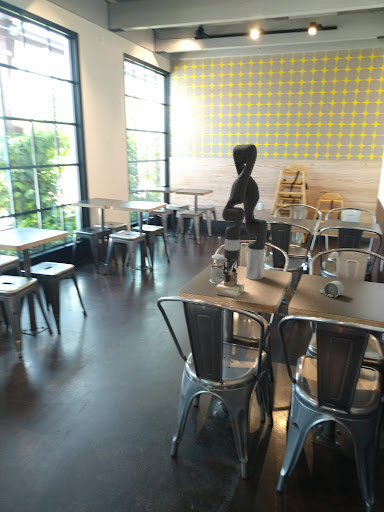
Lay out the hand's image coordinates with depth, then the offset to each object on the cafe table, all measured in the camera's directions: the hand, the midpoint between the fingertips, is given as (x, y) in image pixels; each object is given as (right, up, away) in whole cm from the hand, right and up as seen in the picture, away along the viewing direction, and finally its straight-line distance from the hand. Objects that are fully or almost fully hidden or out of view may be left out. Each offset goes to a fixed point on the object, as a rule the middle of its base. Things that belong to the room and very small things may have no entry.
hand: (230, 279), depth 190 cm
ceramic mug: (+50, -8, +1) cm, 51 cm away
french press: (-4, -2, +19) cm, 20 cm away
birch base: (0, -7, +2) cm, 7 cm away
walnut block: (0, -3, +1) cm, 3 cm away
